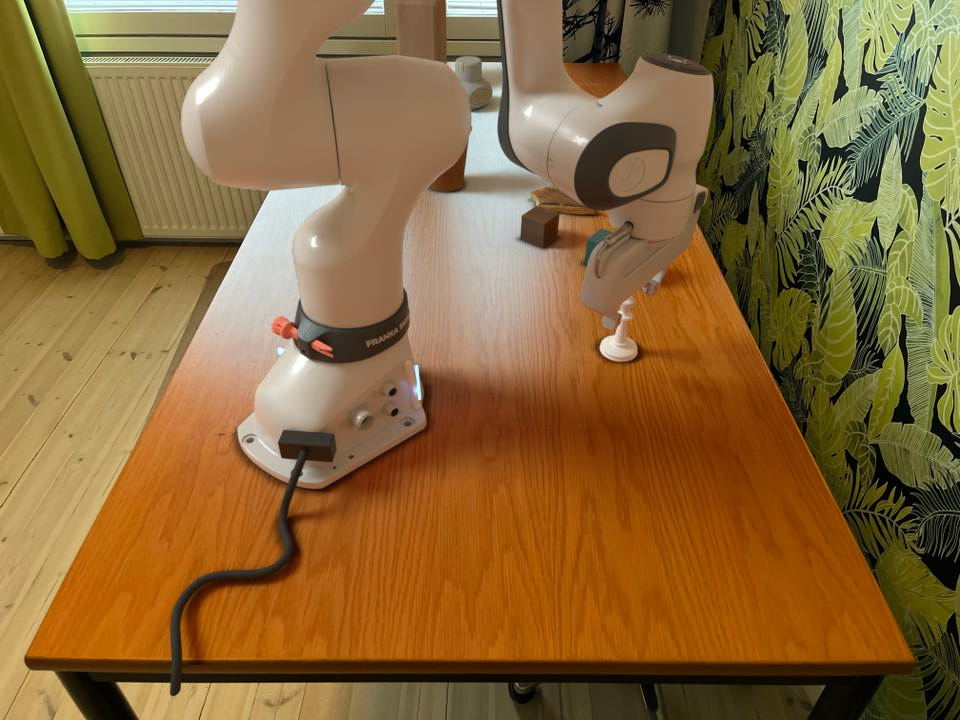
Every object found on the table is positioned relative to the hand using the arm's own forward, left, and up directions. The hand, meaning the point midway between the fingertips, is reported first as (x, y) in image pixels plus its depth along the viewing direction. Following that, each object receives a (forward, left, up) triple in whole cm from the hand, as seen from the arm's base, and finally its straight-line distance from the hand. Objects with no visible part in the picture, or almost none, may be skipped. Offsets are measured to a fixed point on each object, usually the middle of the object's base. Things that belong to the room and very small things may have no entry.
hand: (630, 308), depth 88 cm
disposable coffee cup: (+25, +50, -8) cm, 56 cm away
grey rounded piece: (+60, +72, -8) cm, 94 cm away
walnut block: (+19, +25, -8) cm, 33 cm away
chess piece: (+1, +1, -8) cm, 8 cm away
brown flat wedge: (+32, +29, -8) cm, 44 cm away
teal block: (+19, +13, -8) cm, 24 cm away
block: (+64, +89, -8) cm, 110 cm away
